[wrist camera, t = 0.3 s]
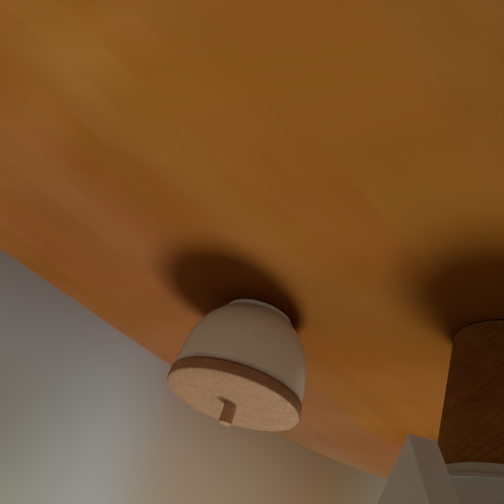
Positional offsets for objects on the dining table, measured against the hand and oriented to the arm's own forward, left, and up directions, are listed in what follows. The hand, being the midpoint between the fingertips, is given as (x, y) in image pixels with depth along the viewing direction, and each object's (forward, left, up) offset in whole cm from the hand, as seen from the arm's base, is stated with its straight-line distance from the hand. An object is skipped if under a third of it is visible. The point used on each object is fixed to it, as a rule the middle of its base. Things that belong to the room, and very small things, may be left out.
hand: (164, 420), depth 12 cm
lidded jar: (+21, +2, -16) cm, 27 cm away
